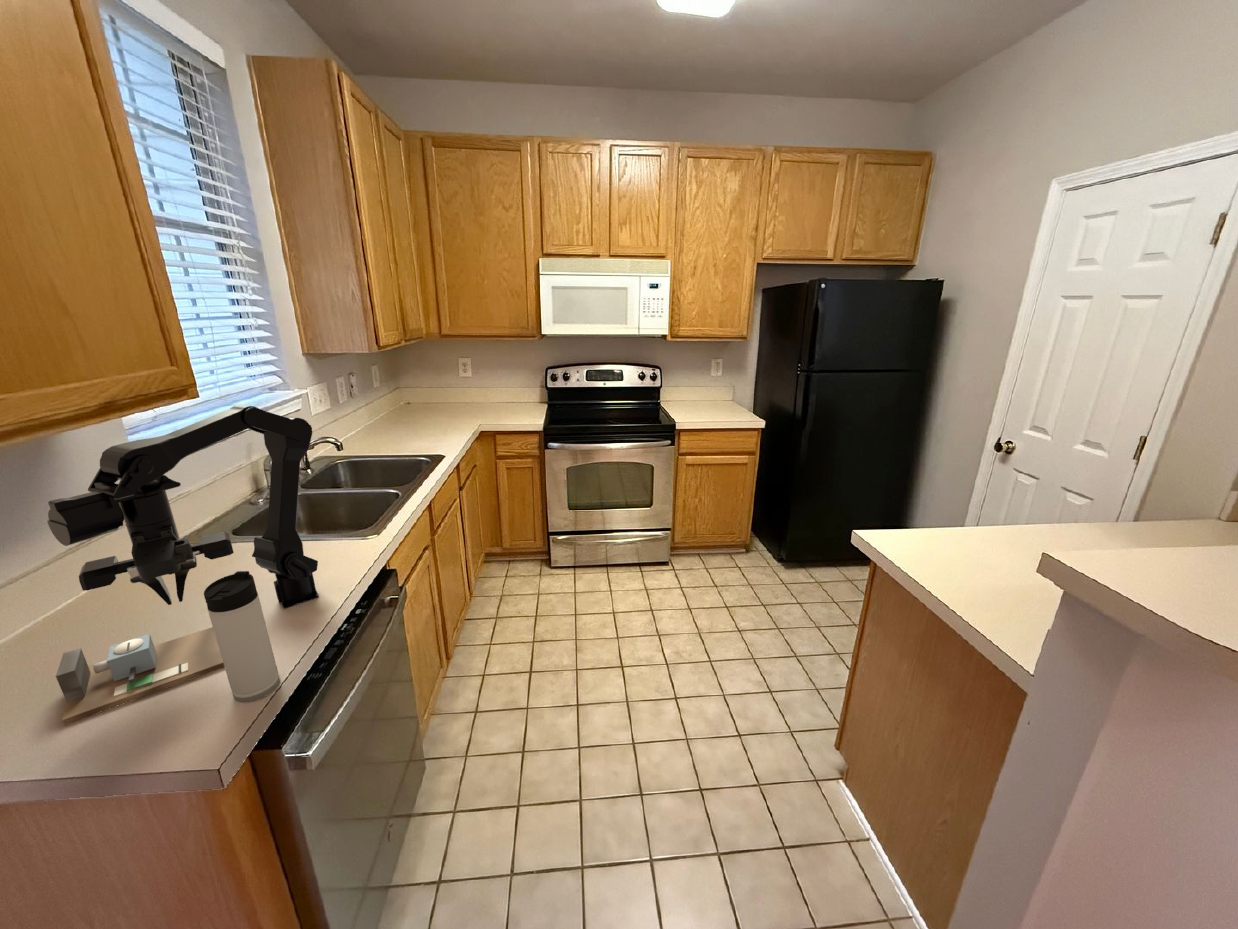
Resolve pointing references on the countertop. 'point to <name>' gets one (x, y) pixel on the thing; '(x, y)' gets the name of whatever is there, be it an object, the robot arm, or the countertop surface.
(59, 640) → the countertop surface
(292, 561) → the robot arm
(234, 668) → the travel mug
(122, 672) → the force gauge
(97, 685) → the gauge board
